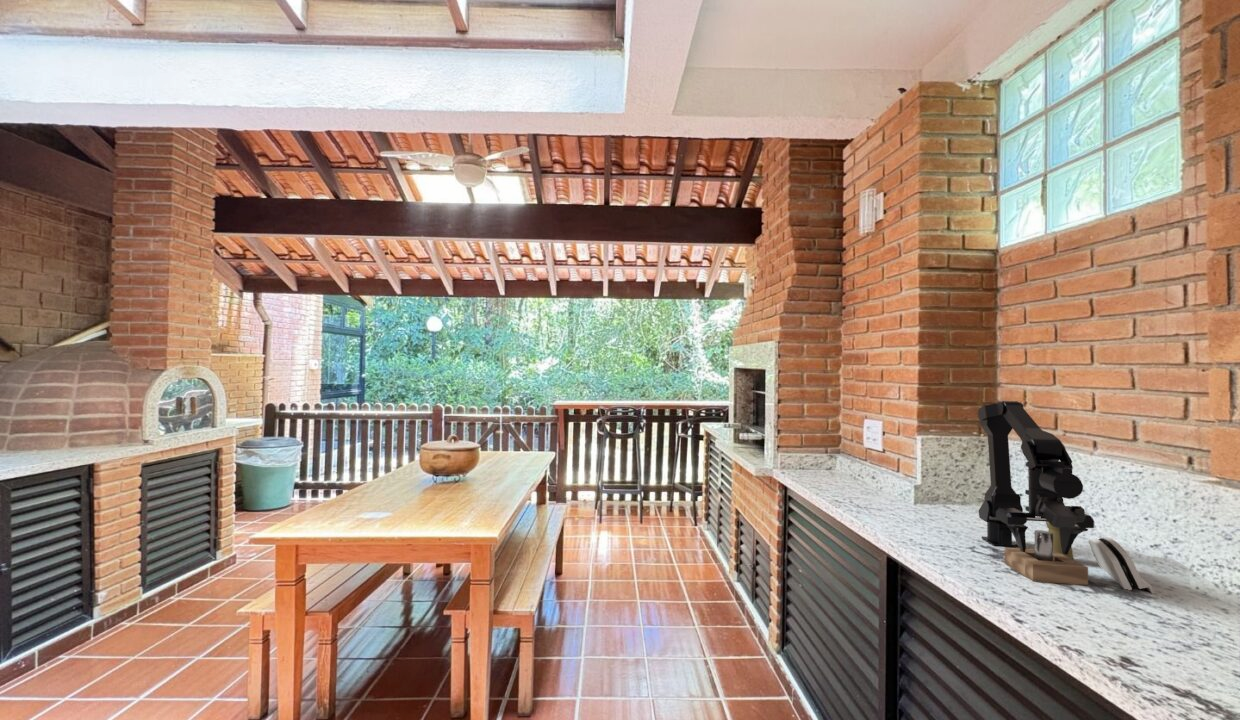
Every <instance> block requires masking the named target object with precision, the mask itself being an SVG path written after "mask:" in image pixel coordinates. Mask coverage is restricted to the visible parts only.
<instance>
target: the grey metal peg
mask: <svg viewBox="0 0 1240 720" xmlns="http://www.w3.org/2000/svg"><path fill="white" fill-rule="evenodd" d="M1048 531H1049V530H1047V531H1046V530H1040V529H1036V530H1034V549H1035V559H1037V560H1041V561H1053V533H1051V532H1048Z"/></svg>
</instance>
